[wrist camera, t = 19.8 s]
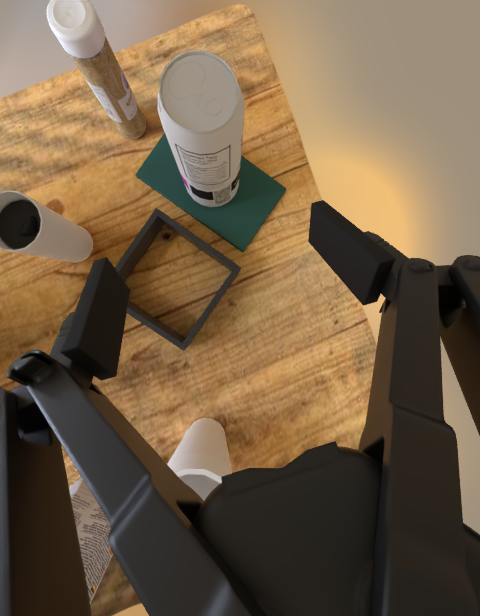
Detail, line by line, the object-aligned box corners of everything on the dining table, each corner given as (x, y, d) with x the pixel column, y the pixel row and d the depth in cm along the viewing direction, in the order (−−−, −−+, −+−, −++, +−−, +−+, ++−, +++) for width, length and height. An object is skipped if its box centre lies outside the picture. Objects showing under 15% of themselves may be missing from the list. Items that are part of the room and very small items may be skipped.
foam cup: (166, 448, 36) (130, 530, 23) (194, 398, 36) (174, 453, 23) (217, 474, 37) (210, 569, 24) (245, 425, 37) (253, 494, 24)
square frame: (110, 293, 35) (97, 293, 31) (163, 217, 35) (156, 207, 31) (188, 346, 36) (183, 350, 32) (240, 270, 36) (241, 267, 32)
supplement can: (174, 183, 34) (131, 91, 19) (211, 144, 34) (197, 22, 19) (213, 220, 35) (201, 158, 20) (249, 181, 35) (265, 91, 20)
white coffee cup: (94, 221, 34) (39, 188, 24) (98, 264, 35) (45, 250, 25) (49, 223, 34) (-25, 191, 24) (53, 267, 34) (-19, 253, 24)
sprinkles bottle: (152, 133, 34) (103, 25, 21) (125, 145, 34) (58, 45, 21) (138, 105, 34) (80, -22, 21) (111, 117, 34) (34, -2, 21)
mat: (136, 177, 34) (135, 175, 34) (180, 113, 34) (180, 110, 34) (243, 252, 36) (243, 251, 35) (285, 190, 36) (286, 188, 35)
